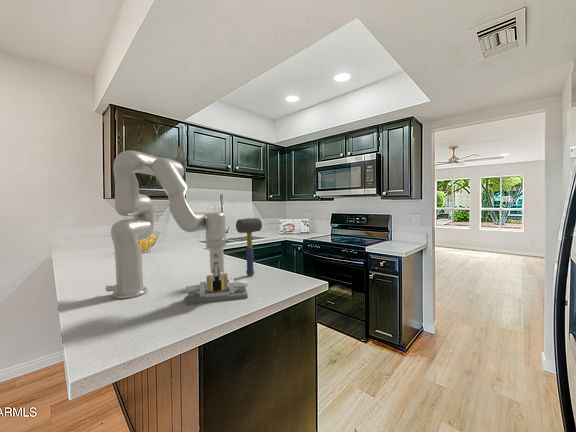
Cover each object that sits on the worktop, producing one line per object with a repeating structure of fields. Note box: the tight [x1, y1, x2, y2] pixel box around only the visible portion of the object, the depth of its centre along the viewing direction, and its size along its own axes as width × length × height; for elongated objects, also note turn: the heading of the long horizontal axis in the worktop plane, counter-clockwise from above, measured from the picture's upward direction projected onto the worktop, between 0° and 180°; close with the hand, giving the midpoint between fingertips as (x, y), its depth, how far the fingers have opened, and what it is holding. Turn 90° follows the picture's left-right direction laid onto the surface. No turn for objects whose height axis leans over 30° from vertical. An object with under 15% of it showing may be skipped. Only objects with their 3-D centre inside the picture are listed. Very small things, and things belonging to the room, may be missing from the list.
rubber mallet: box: [235, 217, 263, 277], centre depth 132 cm, size 12×8×30 cm, turn 131°
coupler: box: [205, 272, 229, 293], centre depth 103 cm, size 8×4×6 cm, turn 104°
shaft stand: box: [184, 278, 249, 305], centre depth 103 cm, size 24×10×6 cm, turn 104°
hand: (217, 288), depth 103 cm, fingers closed on coupler, 4 cm apart
